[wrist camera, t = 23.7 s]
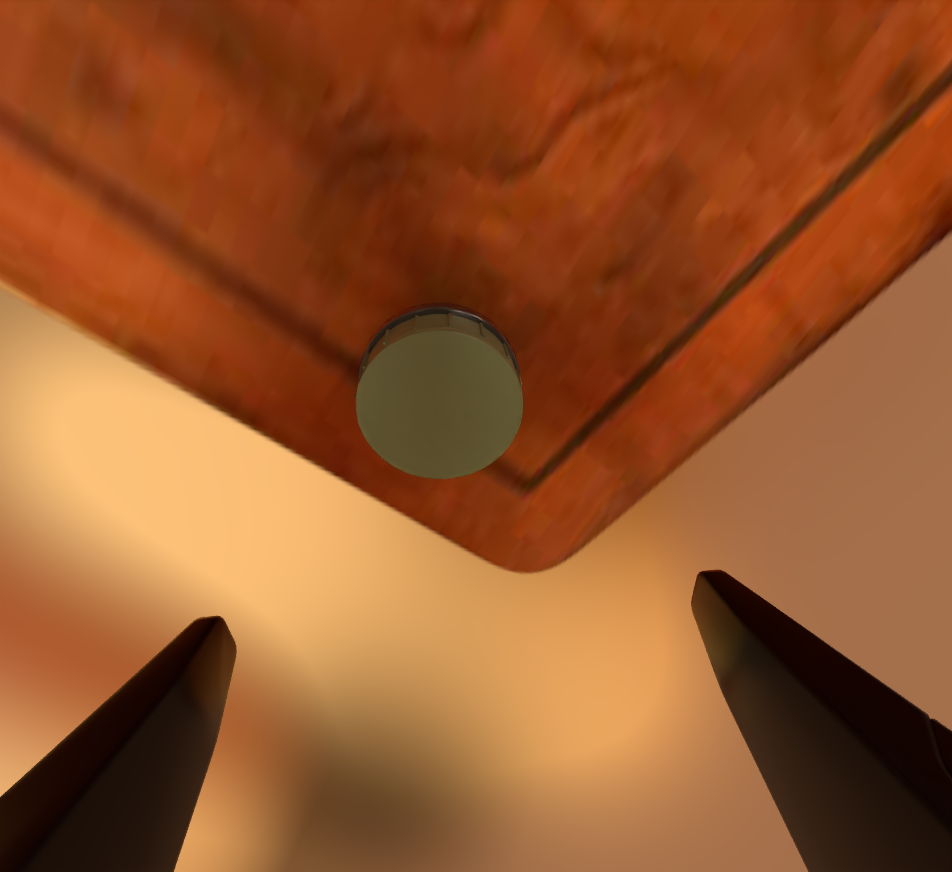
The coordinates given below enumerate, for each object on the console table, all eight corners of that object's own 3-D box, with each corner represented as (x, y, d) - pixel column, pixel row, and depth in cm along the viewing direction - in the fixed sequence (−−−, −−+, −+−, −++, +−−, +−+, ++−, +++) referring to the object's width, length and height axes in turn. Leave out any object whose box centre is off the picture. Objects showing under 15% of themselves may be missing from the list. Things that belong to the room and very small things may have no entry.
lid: (517, 448, 20) (524, 474, 19) (375, 458, 20) (369, 485, 19) (516, 306, 17) (524, 323, 16) (348, 318, 17) (339, 336, 16)
